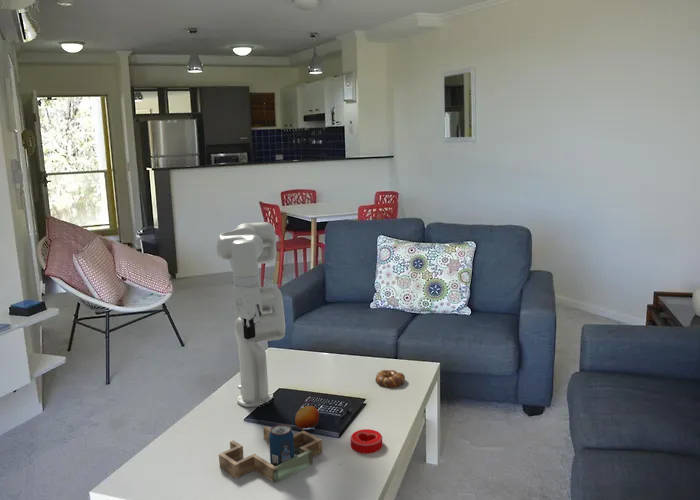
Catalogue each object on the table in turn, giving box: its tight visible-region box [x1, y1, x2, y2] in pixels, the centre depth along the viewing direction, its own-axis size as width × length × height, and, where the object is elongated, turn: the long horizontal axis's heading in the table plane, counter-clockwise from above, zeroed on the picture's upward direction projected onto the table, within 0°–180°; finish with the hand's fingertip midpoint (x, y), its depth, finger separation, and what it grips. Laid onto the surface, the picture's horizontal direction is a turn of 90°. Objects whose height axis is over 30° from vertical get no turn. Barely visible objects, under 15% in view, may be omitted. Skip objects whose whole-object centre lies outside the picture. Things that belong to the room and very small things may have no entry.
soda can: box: [268, 423, 296, 466], centre depth 177 cm, size 7×7×12 cm
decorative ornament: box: [350, 428, 383, 455], centre depth 189 cm, size 10×10×3 cm
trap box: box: [218, 425, 323, 484], centre depth 182 cm, size 22×26×4 cm
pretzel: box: [375, 369, 406, 388], centre depth 233 cm, size 12×11×4 cm
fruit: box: [294, 405, 320, 430], centre depth 200 cm, size 8×8×8 cm
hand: (249, 337), depth 191 cm, fingers closed
